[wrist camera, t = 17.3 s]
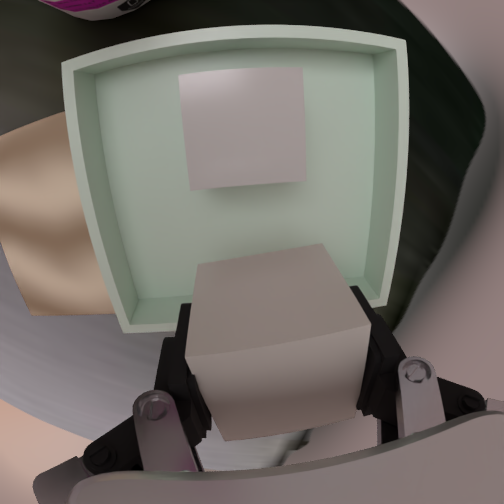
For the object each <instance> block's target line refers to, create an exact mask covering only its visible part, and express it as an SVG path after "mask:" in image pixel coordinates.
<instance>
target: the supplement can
mask: <svg viewBox="0 0 504 504" xmlns="http://www.w3.org/2000/svg"><path fill="white" fill-rule="evenodd" d="M39 1H41V2H43V3H46V4H48V5H50V6H53V7H55V8H57V9H59V10H61V11H64V12H66V13H68V14H70V15H72V16H74V17H78V18H82V19H86V20H90V21H94V20H103V19H113V18H115V17H118V16H121V15H123V14H126V13H129V12H131V11H134V10H136V9H138V8H139V7H141V6H142V5H144V4H145V3H147V2H149V1H150V0H39Z"/></svg>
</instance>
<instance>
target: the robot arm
mask: <svg viewBox="0 0 504 504" xmlns="http://www.w3.org/2000/svg"><path fill="white" fill-rule="evenodd" d="M349 287H350V289H351V291H352V292H353V294H354V296H355V297H356V299H357V301H358V302H359V304H360V306H361V307H362V309H363V311H364V313H365V314H366V316H367V318H368V319H369V321H370V323H371V330H370V337H369V344H368V351H367V357H366V363H365V369H364V375H363V380H362V386H361V391H360V395H359V398H358V401H357V404H356V408H357V410H362V413H363V416H367V415H370V414H372V415H373V417H375V418H377V446H375V447H372V448H368V449H364V450H360V451H357V452H353V453H349V454H344V455H341V456H336V457H332V458H326V459H321V460H316V461H311V462H305V463H300V464H292V465H286V466H278V467H270V468H261V469H250V470H236V471H215V472H205V471H204V468H203V466H202V463H201V460H200V457H199V455H198V452H197V449H196V445H198V444H199V443H200V442H201V441H202V438H206V430H211V417H212V415H211V413H210V411H209V409H208V407H207V405H206V403H205V401H204V399H203V397H202V394H201V392H200V390H199V387H198V384H197V381H196V377H195V374H192V373H191V370H190V368H189V366H188V364H187V361H186V359H185V351H186V343H187V335H188V327H189V319H190V312H191V305H192V303H182V304H181V306H180V312H179V317H178V323H177V328H176V334H175V337H165V338H164V340H163V344H162V349H161V354H160V359H159V364H158V369H157V375H156V380H155V385H154V390H151V391H147V392H145V393H143V394H141V395H140V396H139V397H138V398H137V399H136V400H135V402H134V404H133V415H132V416H131V417H130V418H128V419H127V420H125V421H124V422H122V423H121V424H119V425H118V426H116V427H115V428H113V429H112V430H110V431H109V432H107V433H106V434H104V435H103V436H101V437H100V438H98V439H97V440H95V441H94V442H92V443H91V444H90V445H88V446H87V448H86V449H85V451H84V455H83V456H82V457H80V458H78V457H77V456H75V457H73V458H71V459H69V460H68V461H65V462H63V463H61V464H60V465H58V466H55V467H53V468H51V469H49V470H47V471H45V472H43V473H41V474H39V475H38V476H37V477H36V478H35V480H34V482H33V490H34V493H35V496H36V498H37V501H38V503H39V504H504V401H499V400H495V399H491V398H487V400H484V398H483V397H482V395H481V394H480V393H479V392H477V391H475V390H473V389H470V388H468V387H465V386H462V385H459V384H456V383H453V382H450V381H447V380H445V379H442V378H439V377H436V372H435V369H434V367H433V365H432V364H431V363H430V362H429V361H427V360H426V359H424V358H421V357H415V356H413V357H408V358H407V357H406V356H405V354H404V352H403V350H402V349H401V347H400V346H399V344H398V342H397V341H396V339H395V337H394V336H393V334H392V332H391V331H390V329H389V327H388V326H387V324H386V323H385V321H384V319H383V318H382V317H381V315H379V314H375V312H374V310H373V309H372V307H371V306H370V304H369V302H368V301H367V299H366V298H365V296H364V294H363V293H362V291H361V290H360V288H359V287H358V286H357V285H355V286H349Z"/></svg>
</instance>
